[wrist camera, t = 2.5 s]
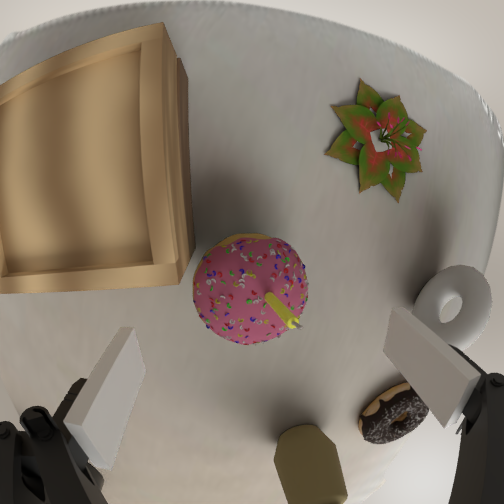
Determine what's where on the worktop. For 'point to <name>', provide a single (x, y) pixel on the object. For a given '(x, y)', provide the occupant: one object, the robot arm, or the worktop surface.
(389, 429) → the donut
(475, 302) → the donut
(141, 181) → the tower top
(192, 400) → the worktop surface
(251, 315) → the cupcake
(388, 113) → the lily flower
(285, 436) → the squeeze bottle
